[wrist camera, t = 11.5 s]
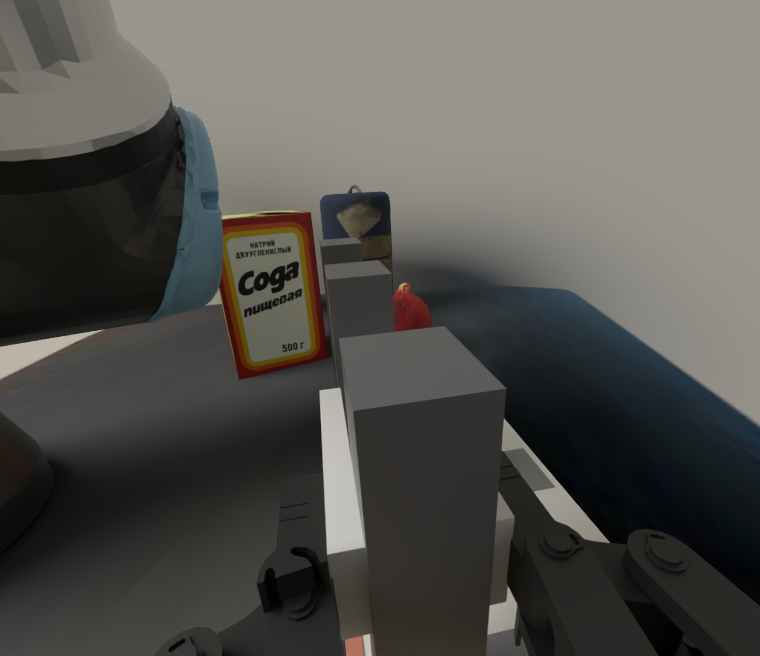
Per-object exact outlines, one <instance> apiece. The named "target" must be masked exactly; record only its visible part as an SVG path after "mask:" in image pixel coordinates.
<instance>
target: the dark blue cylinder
mask: <svg viewBox="0 0 760 656" xmlns="http://www.w3.org/2000/svg"><path fill="white" fill-rule="evenodd" d="M353 188H356V189H357V190H358V193H352V189H353ZM320 210H321V220H322V231H323V240H328V239H341V238H353V237H356V238H357V239H358V240H359V241H360V242H361V243H362V252H363V261H374V260H379V261H380V262H381V263H382V264H383V265H384V266H385V267H386V268H387V269H388V270H389V271H390V272H391V273H392V288H393V270H392V241H391V222H390V200H389V196H388V194H386V193H385V192H366V193H362V192H361V190H360V189H359V187H358V186H357V185H353V186H351V188H350V190H349V191H348V193H347V194H333V195H325V196H324V197H322V199H321V201H320ZM393 295H394V294H393Z"/></svg>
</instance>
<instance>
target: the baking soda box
mask: <svg viewBox="0 0 760 656" xmlns="http://www.w3.org/2000/svg"><path fill="white" fill-rule="evenodd" d="M264 212H265V211H264ZM266 212H268V213H256V214H242V215H231V216H222V228H223V265H222V275H221V281H220V285H219V292H220V297H221V302H222V307H223V311H224V316H225V320H226V325H227V329H228V334H229V339H230V343H231V348H232V352H233V357H234V361H235V365H236V369H237V373H238V377H239V379H243V378H247V377H251V376H255V375H259V374H264V373H268V372H272V371H276V370H280V369H284V368H288V367H292V366H297V365H301V364H305V363H309V362H313V361H317V360H321V359H325V358H328V356H327V347H326V339H325V330H324V322H323V313H322V305H321V296H320V288H319V281H318V271H317V262H316V254H315V245H314V237H313V228H312V220H311V213H310V212H304V211H296V210H291V211H266Z"/></svg>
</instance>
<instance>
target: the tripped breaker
mask: <svg viewBox="0 0 760 656" xmlns="http://www.w3.org/2000/svg"><path fill="white" fill-rule="evenodd" d="M339 343H340V353H341V362H342V372H343V382H344V391H345V401H346V411H347V421H348V430H349V440H350V450H351V459H352V467H353V474H354V480H355V487H356V493H357V500H358V506H359V513H360V520H361V526H362V533H363V539H364V546H365V555H366V565H367V576H368V586H369V596H370V606H371V617H372V627H373V633H372V634H370V644H371V654H372V656H486V648H487V635H488V622H489V608H490V595H491V582H492V569H493V556H494V542H495V529H496V516H497V503H498V490H499V476H500V463H501V450H502V437H503V424H504V410H505V397H506V388H505V387H504V386H503V385H502V384H501V383H500V382H499V381H498V380H497V379H496V378H495V377H494V376H493V375H492V374H491V373H490V372H489V371H488V370H487V369H486V368H485V367H484V366H483V365H482V364H481V363H480V362H479V361H478V360H477V359H476V358H475V356H474V355H473V354H472V353H471V352H470V351H469V350H468V349H467V348H466V347H465V346H464V345H463V344H462V343H461V342H460V341H459V340H458V339H457V338H456V337H455V336H454V335H453V334H452V333H451V332H450V331H449V330H448V329H447V328H446V327H445V326H440V327H432V328H423V329H415V330H406V331H398V332H389V333H381V334H372V335H364V336H355V337H347V338H339Z"/></svg>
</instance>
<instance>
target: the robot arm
mask: <svg viewBox="0 0 760 656" xmlns="http://www.w3.org/2000/svg"><path fill="white" fill-rule="evenodd" d="M218 199H219V198H218V179H217V172H216V166H215V160H214V156H213V151H212V147H211V143H210V140H209V137H208V134H207V131H206V129H205V127H204V124H203V122H202V121H201V119H199V118H198V117H197V116H196V115H195V114H194V113H191V112H187V111H185V110H183V109H182V108H181V107H178V108H176V106H173V104H172V100H171V94H170V89H169V85H168V83H167V80H166V77H165V76H164V74H163V73H162V72H161V70H160V69H159V68H158V67H157V66H156V65H155V64H154V63H153V62H151V61H150V60H149V59H148V58H147V57H146V56H145V55H144V54H142V53H141V52H140V51H139V50H138V49H136V48H135V47H134V46H133V45H132V44H131V43H130V42H129V41H127V40H126V39H125V38H124V37H123V36H122V35H120V33H119V32H118V30H117V26H116V23H115V19H114V16H113V12H112V8H111V4H110V0H0V347H1V346H7V345H12V344H19V343H25V342H30V341H37V340H42V339H49V338H54V337H60V336H67V335H73V334H79V333H85V332H91V331H97V330H103V329H109V328H115V327H121V326H127V325H133V324H139V323H146V322H147V323H151V322H155V321H157V320H159V319H161V318H162V317H166V316H170V315H174V314H178V313H183V312H187V311H191V310H195V309H198V308H201V307H203V306H205V305H206V304H208V303H209V302H210V301H211V300H212V299H213V297H214V296H215V294H216V293H217V290H218V288H219V285H220V281H221V275H222V265H223V228H222V216H221V211H220V208H219V206H218ZM320 411H321V433H322V454H323V471H322V472H316V473H310V474H304V475H298V476H292V477H290V478H289V480H288V482H287V484H286V485H285V487H284V489H283V490H282V496H281V506H280V508H281V511H280V517H279V527H278V538H277V549H276V551H274V552H273V553H272V554H271V555H270V556H269V557H268V558H267V559H266V561H265V562H264V564H263V565H262V567H261V569H260V570H259V575H258V580H257V587H258V591H259V595H260V598H261V602H262V603H261V605H260V606H259V607H257V608H256V609H255V610H254V611H253V612H252V613H251V614H250V615H248V616H247V617H245V618H244V619H243V620H241V621H239V622H237V623H236V624H234V625H232V626H230V627H229V628H227V629H225V630H223V631H221V632H220V633H218V634H216V633H215V632H213V631H212V630H211V629H210V628H202V627H195V628H192V629H188V630H185V631H182V632H181V633H179V634H177V635H176V636H174V637H173V638H171V639H170V640H168V641H167V642H166V643H165V644H164V645H163V646H162V647H161V648H160V649H159V650H158V651H157V652H156V654H155V655H154V656H344V653H343V648H342V643H341V641H342V640H346V639H350V638H355V637H359V636H363V635H367V634H372V633H373V627H372V617H371V606H370V596H369V586H368V576H367V565H366V555H365V546H364V539H363V533H362V526H361V520H360V513H359V506H358V500H357V493H356V487H355V480H354V474H353V467H352V461H351V454H350V447H349V441H348V434H347V428H346V421H345V415H344V408H343V402H342V395H341V389H340V388H334V389H327V390H320ZM53 483H54V475H53V471H52V469H51V467H50V465H49V463H48V461H47V459H46V457H45V454H44V452H43V450H42V448H41V447H40V446H39V444H38V443H37V442H36V441H35V440H34V439H33V438H32V437H31V436H29V435H28V434H27V433H26V432H25V431H23V430H22V429H21V428H20V427H18V426H17V425H16V424H15V423H14V422H12V421H11V420H10V419H9V418H7V417H6V416H5V415H4V414H3V413H1V412H0V554H1V553H2V552H3V551H4V550H5V549H6V548H7V547H8V546H9V545H10V544H11V543H13V542H14V541H15V540H16V539H17V538H18V537H19V536H20V535H21V534H22V533H23V531H24V530H25V529H26V528H27V527H28V526H29V525H30V524H31V522H32V521H33V520H34V519H35V518H36V516H37V515H38V514H39V512H40V511H41V510H42V508H43V506H44V505H45V503H46V502H47V500H48V498H49V496H50V493H51V491H52V488H53ZM508 587H509V589H510V591H511V593H512V595H513V597H514V599H515V601H516V603H517V610H516V619H515V627H514V640H515V646H520V644H521V636H522V638H523V640H524V643H525V646H526V649H527V652H528V654H529V656H760V606H759V605H758V604H757V603H755V602H754V601H753V600H752V599H751V598H749V597H748V596H747V595H746V594H745V593H743V592H742V591H741V590H740V589H739V588H737V587H736V586H735V585H734V584H733V583H731V582H730V581H729V580H728V579H727V578H725V577H724V576H723V575H722V574H721V573H719V572H718V571H717V570H716V569H715V568H713V567H712V566H711V565H710V564H709V563H707V562H706V561H705V560H704V559H703V558H701V557H700V556H699V555H698V554H697V553H695V552H694V551H693V550H692V549H691V548H689V547H688V546H687V545H685V544H684V543H682V542H681V541H679V540H678V539H676V538H675V537H672V536H670V535H668V534H665V533H663V532H661V531H656V530H651V529H641V530H636V531H634V532H633V533H632V534H630V535H629V538H628V542H627V545H625V544H615V543H606V542H597V541H591V540H586V539H584V538H582V537H581V535H580V534H579V533H578V532H576V531H575V530H573V529H572V528H571V527H569V526H568V525H565V524H563V523H560V522H557V521H555V520H554V518H553V517H552V516H551V515H550V513H549V512H548V511H547V509H546V508H545V507H544V505H543V504H542V502H541V501H540V500H539V498H538V497H537V496H536V494H535V493H534V492H533V490H532V489H531V488H530V486H529V485H528V484H527V482H526V481H525V480H524V478H522V477H521V474H520V473H519V471H518V470H517V469H516V467H514V466H513V463H512V462H511V461H510V459H509V458H508V457H507V455H506V454H505V452H503V451H502V450H501V463H500V476H499V490H498V503H497V516H496V529H495V542H494V556H493V569H492V582H491V595H490V606H491V605H495V604H499V603H503V602H506V600H507V590H508Z"/></svg>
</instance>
